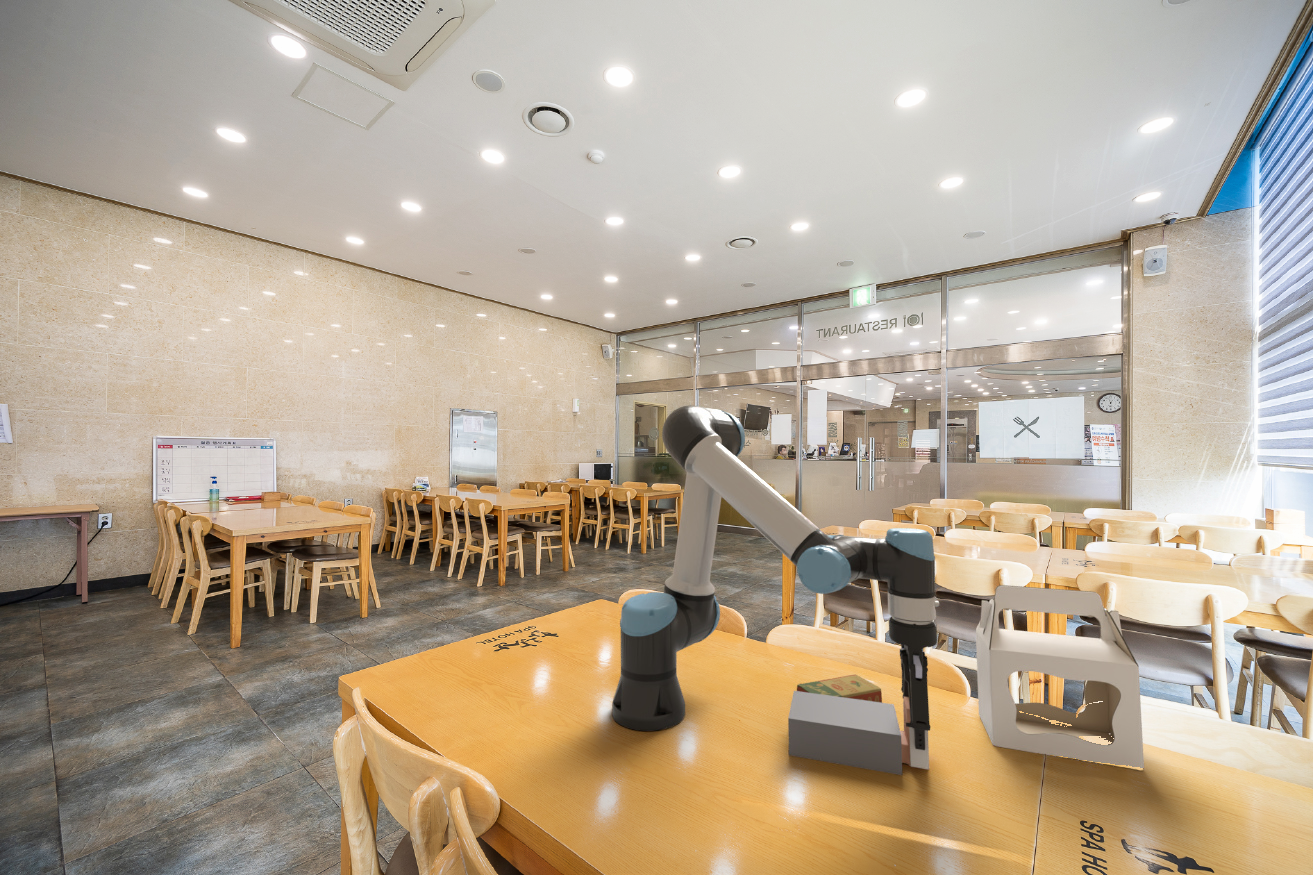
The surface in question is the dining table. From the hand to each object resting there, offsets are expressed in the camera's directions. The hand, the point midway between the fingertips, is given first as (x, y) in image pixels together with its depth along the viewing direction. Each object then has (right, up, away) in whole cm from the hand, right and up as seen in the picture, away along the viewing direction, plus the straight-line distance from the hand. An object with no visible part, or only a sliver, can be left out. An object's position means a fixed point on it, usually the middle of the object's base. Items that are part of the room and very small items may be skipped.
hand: (916, 752), depth 90 cm
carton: (-5, -4, +23) cm, 24 cm away
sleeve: (-11, -2, +4) cm, 12 cm away
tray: (-9, -2, +3) cm, 9 cm away
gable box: (+29, -2, +8) cm, 30 cm away
